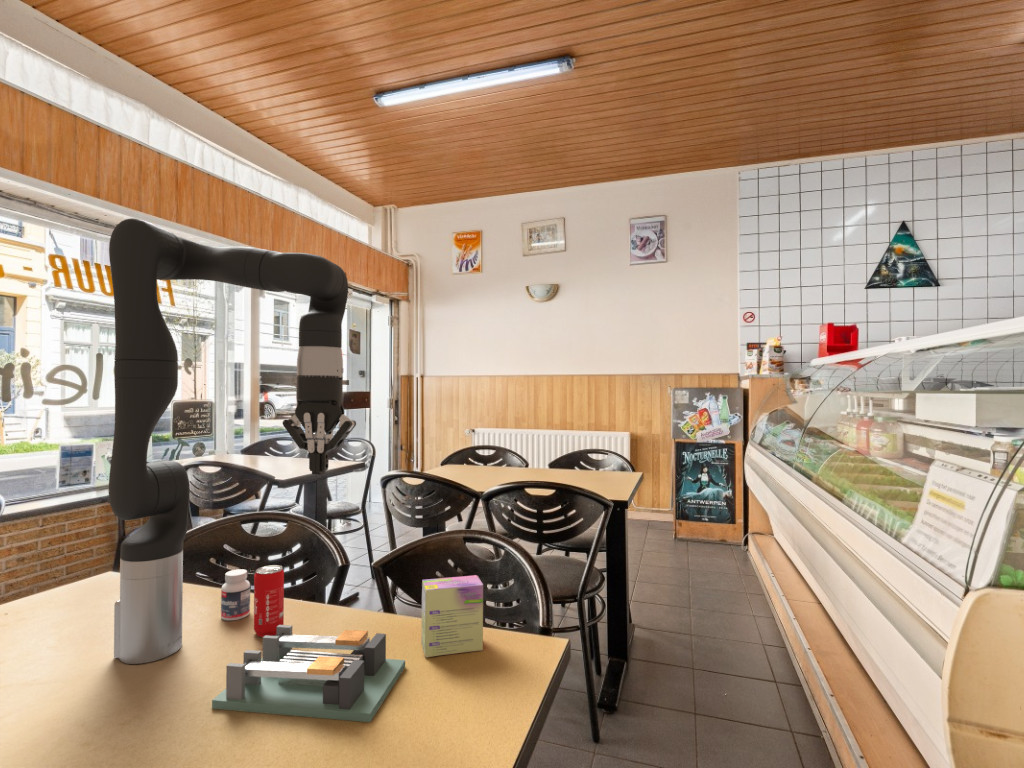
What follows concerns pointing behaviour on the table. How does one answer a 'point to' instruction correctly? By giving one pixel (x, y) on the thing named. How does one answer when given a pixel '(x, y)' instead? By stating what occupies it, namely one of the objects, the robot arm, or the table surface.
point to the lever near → (298, 669)
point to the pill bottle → (235, 595)
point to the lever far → (327, 641)
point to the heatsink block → (310, 657)
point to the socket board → (335, 700)
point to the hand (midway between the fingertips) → (318, 473)
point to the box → (452, 615)
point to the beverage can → (268, 600)
